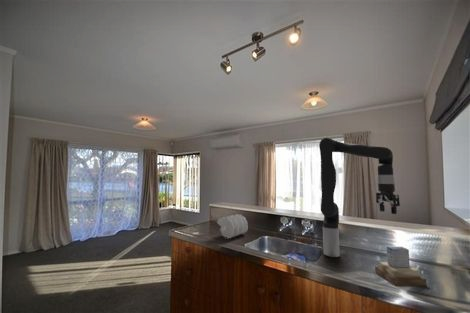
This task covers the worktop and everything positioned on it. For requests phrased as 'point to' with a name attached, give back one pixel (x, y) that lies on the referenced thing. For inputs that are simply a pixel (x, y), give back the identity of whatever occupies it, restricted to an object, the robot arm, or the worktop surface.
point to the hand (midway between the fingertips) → (387, 212)
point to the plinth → (403, 280)
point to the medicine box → (398, 257)
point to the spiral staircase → (233, 225)
